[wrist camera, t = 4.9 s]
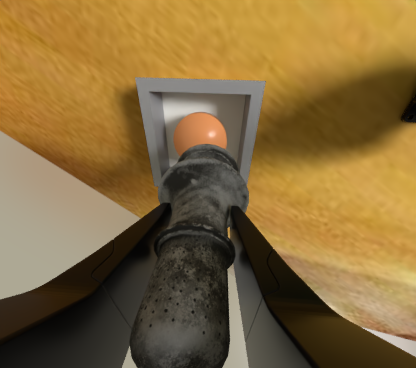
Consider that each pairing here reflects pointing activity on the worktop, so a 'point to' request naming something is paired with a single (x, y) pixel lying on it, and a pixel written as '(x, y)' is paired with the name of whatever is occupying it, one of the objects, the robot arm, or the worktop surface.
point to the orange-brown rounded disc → (199, 132)
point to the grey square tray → (199, 102)
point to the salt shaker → (191, 265)
